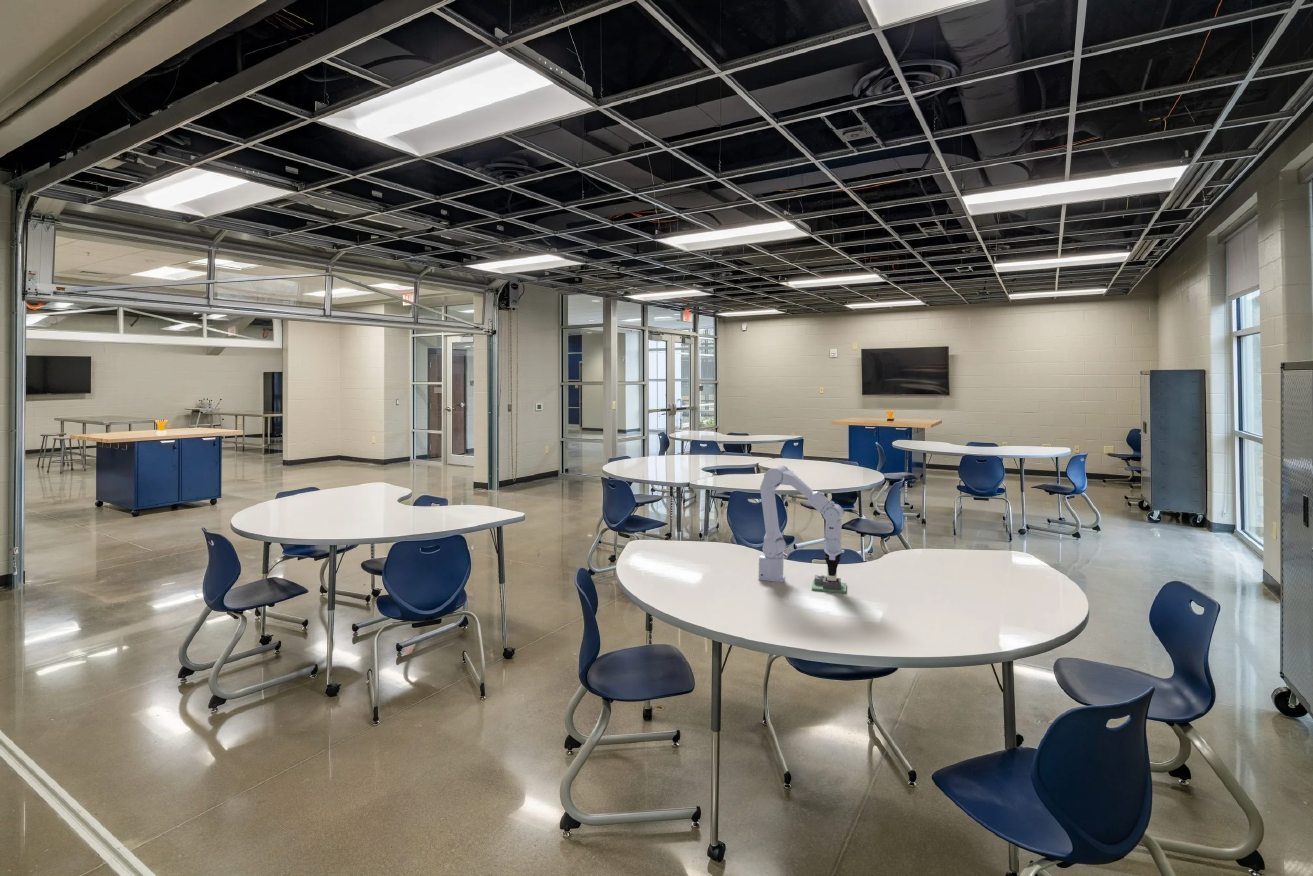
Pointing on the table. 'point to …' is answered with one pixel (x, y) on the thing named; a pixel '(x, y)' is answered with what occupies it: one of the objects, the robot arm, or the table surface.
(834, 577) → the plug
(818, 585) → the board
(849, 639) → the table surface
